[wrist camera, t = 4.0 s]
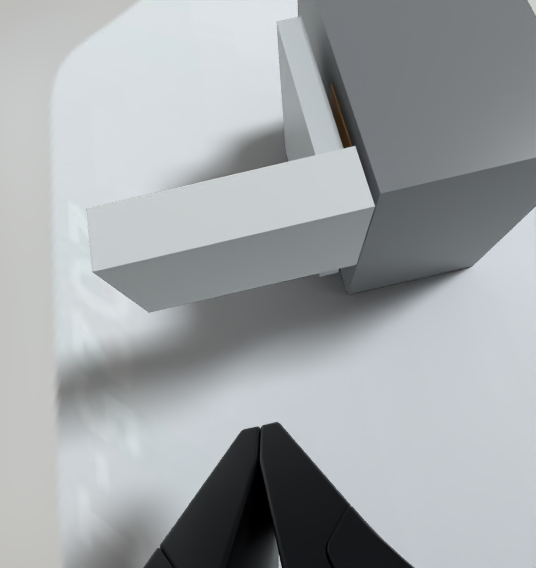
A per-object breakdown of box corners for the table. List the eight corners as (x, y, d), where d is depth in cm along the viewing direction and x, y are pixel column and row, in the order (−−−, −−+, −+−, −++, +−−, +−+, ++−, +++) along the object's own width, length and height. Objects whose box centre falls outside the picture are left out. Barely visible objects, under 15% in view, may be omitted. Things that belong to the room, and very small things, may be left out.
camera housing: (472, 266, 17) (603, 141, 10) (346, 294, 17) (379, 193, 10) (402, 85, 20) (461, -122, 13) (294, 110, 20) (287, -81, 13)
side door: (345, 298, 16) (375, 206, 9) (181, 336, 16) (92, 271, 9) (302, 146, 18) (300, -19, 11) (157, 180, 18) (69, 36, 11)
